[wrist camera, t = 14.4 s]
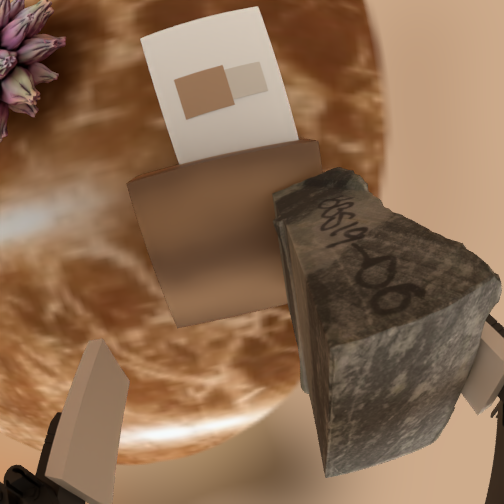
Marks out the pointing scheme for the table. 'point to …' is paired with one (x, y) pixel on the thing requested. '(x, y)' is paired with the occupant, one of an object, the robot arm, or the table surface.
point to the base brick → (220, 228)
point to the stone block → (377, 318)
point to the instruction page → (219, 85)
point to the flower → (23, 57)
